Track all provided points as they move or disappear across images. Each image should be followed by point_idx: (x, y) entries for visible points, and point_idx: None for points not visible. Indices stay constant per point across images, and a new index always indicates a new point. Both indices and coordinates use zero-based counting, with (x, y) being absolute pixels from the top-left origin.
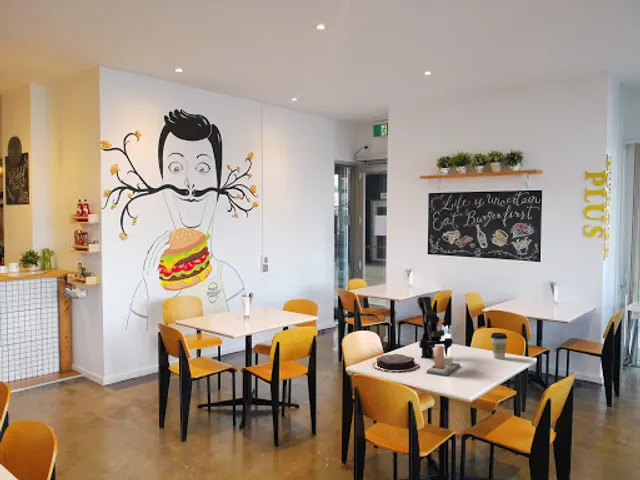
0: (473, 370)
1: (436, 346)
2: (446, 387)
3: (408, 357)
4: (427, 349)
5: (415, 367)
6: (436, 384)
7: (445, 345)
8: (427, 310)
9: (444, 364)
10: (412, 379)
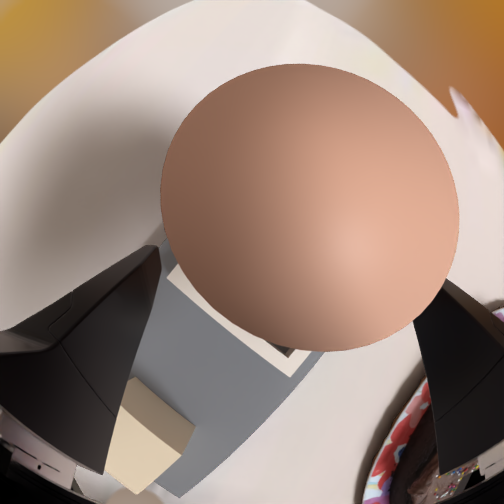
0: (31, 262)
1: (393, 275)
2: (312, 28)
3: (458, 475)
4: (500, 323)
5: None
6: (352, 62)
7: (42, 375)
8: None
9: (172, 409)
10: (463, 162)
